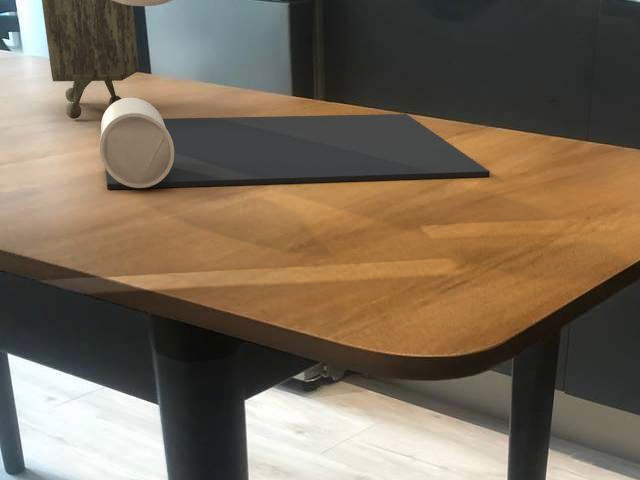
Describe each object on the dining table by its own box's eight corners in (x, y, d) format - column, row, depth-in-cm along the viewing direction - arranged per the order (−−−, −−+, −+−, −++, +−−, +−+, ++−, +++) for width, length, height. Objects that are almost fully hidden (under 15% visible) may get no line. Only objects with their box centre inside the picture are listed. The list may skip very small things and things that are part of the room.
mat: (107, 189, 91) (106, 183, 91) (100, 124, 116) (100, 119, 116) (489, 176, 100) (490, 171, 99) (406, 118, 124) (406, 113, 124)
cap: (92, 117, 87) (91, 99, 95) (108, 192, 90) (106, 169, 98) (166, 108, 88) (160, 91, 96) (180, 183, 92) (173, 160, 99)
